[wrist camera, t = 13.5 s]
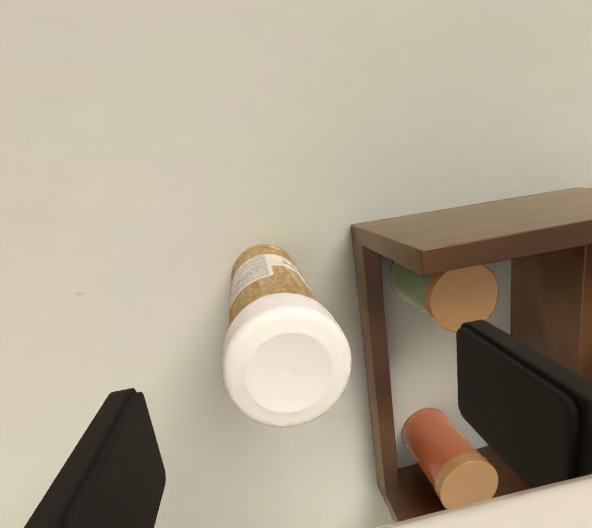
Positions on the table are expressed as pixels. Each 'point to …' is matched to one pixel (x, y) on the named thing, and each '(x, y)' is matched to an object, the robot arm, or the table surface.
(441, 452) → the terracotta jar
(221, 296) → the table surface
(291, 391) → the sprinkles bottle
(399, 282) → the sage jar
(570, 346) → the spice rack
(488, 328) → the robot arm
